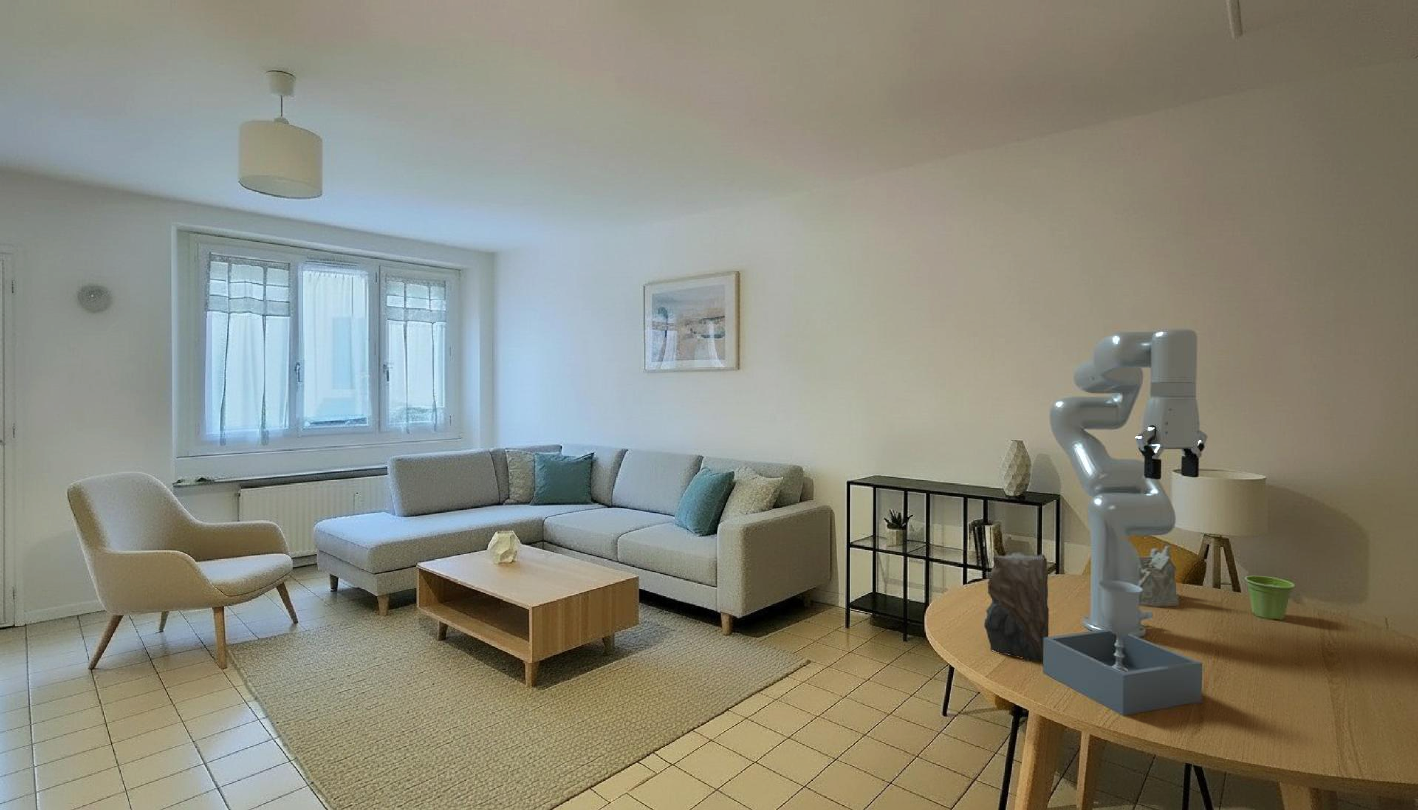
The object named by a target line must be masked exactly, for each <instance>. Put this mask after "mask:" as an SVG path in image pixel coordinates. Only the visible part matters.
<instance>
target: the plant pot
mask: <svg viewBox="0 0 1418 810" xmlns="http://www.w3.org/2000/svg"><path fill="white" fill-rule="evenodd" d="M1244 580H1245V581H1246V584H1247V586H1248V591H1249V599H1250V606H1251V607H1250V608H1251V613H1252V614H1254V615H1255V616H1257V617H1259V618H1263V619H1267V620H1273V619H1276V620H1279V621H1281V620H1284V619H1285V617H1286V612H1287V607H1288V603H1289V598H1290V594H1291V593H1292V591H1293V588H1295V584H1294V583H1293V582H1291V581H1288V580H1286V579H1281V578H1277V577H1271V576H1265V575H1263V576H1262V575H1247V576H1245V577H1244Z"/></svg>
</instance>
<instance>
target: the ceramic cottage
mask: <svg viewBox="0 0 1418 810" xmlns="http://www.w3.org/2000/svg"><path fill="white" fill-rule="evenodd" d="M1171 558H1172V554H1171V546H1170V545H1169V546H1166V545H1165V547H1164V549H1162V552H1160V550H1159V549H1158V548H1151V549H1150V555H1149V556H1139V587H1141V588H1142V589H1143V590H1142V592H1141V593H1140V595H1139V606H1146V607H1174V606H1178V605H1179V603H1180V600H1179V596H1178V594H1177V583H1176V581H1175V579H1176V572H1177V570H1178V569H1177V566H1176V565H1175V564H1174V563H1173V561H1172V559H1171Z"/></svg>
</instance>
